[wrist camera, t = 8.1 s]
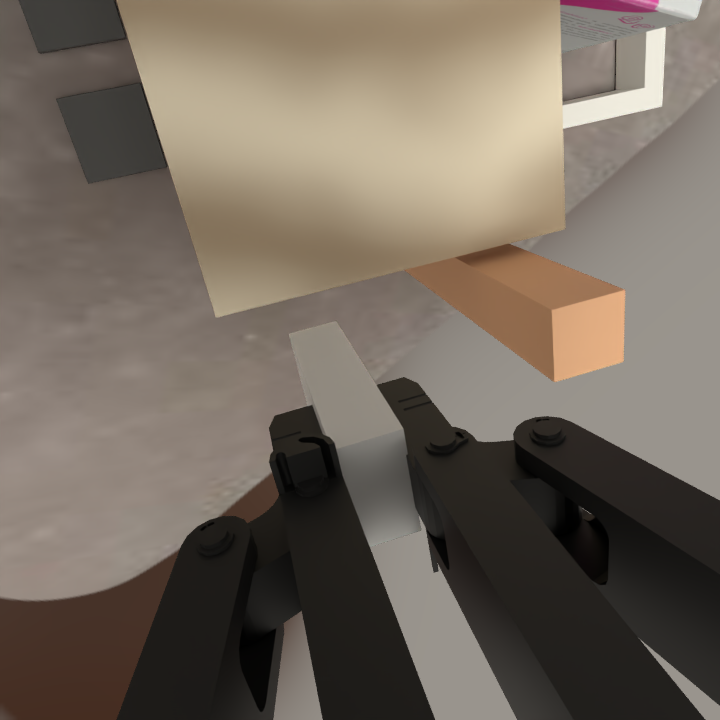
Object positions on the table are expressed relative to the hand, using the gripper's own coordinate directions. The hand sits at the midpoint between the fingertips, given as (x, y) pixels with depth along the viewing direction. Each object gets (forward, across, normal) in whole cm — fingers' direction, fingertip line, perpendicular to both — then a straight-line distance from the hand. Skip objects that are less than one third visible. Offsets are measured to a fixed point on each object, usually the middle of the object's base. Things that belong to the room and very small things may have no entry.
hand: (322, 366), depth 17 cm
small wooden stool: (+17, +4, +10) cm, 20 cm away
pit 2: (+17, -6, +8) cm, 20 cm away
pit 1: (+17, -6, +14) cm, 23 cm away
